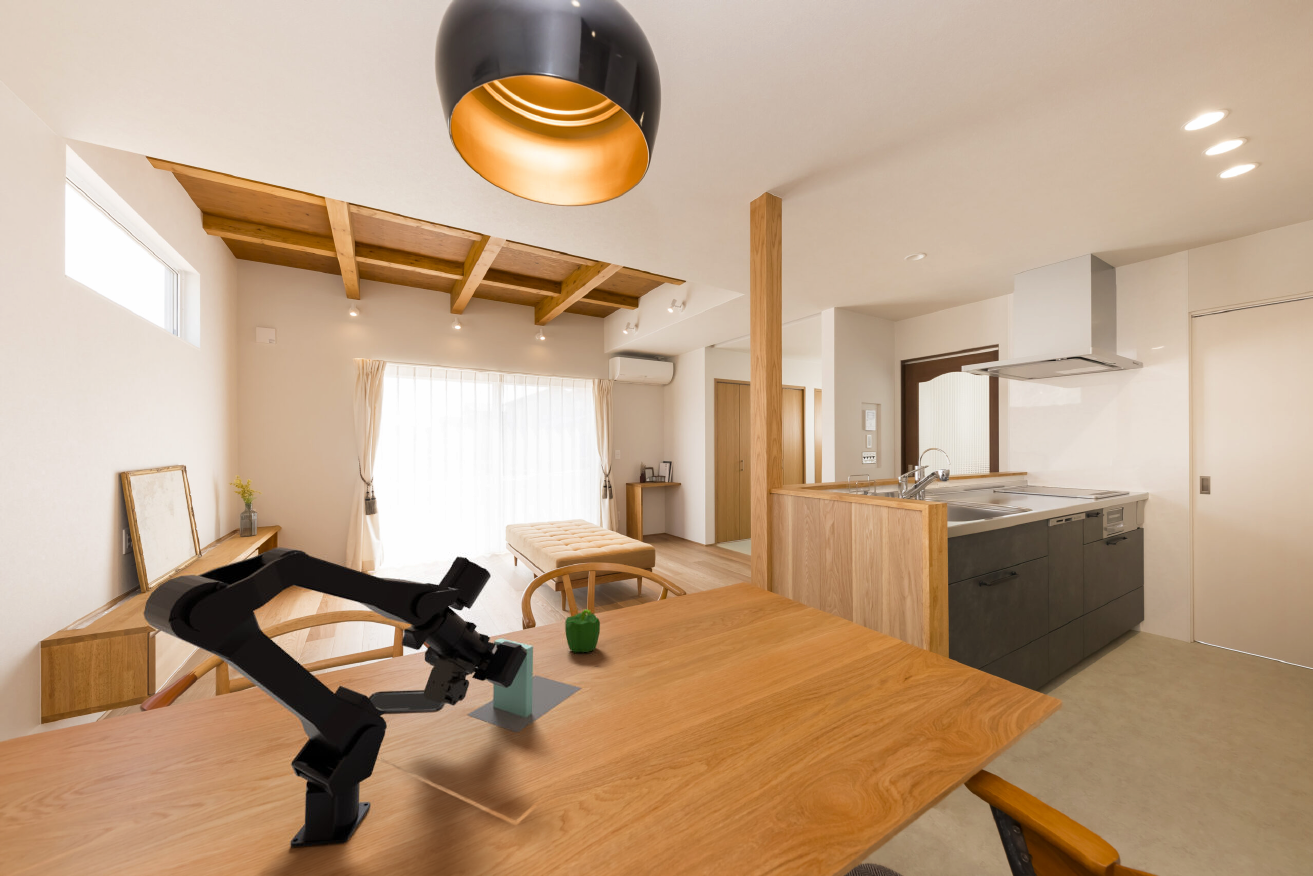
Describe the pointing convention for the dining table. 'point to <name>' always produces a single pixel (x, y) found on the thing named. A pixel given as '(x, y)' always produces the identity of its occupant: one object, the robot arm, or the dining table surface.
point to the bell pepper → (582, 631)
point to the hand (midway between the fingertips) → (500, 676)
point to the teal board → (517, 687)
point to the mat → (543, 700)
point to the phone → (404, 702)
